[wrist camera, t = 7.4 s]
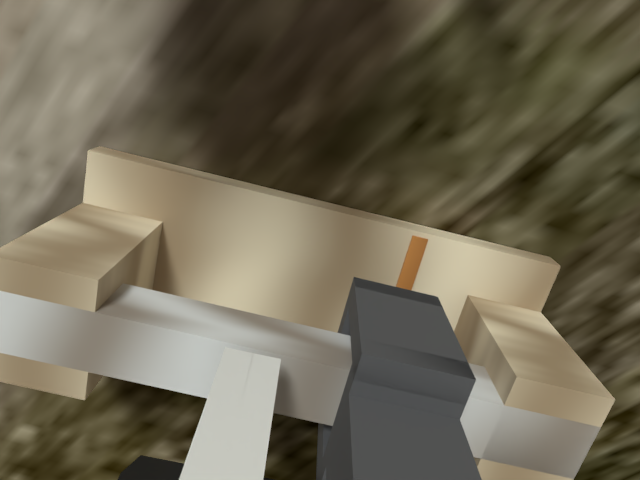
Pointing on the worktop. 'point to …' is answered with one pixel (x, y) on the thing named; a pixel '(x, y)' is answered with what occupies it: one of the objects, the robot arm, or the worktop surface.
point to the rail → (282, 305)
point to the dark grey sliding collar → (399, 392)
